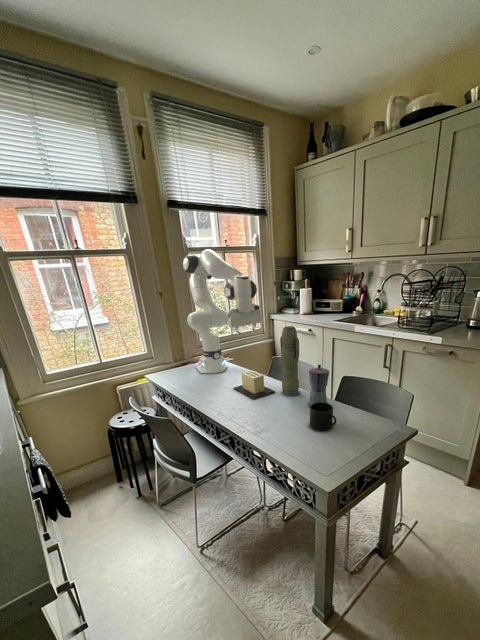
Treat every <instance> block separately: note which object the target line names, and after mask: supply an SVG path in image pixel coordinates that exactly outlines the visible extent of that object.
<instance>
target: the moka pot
mask: <svg viewBox="0 0 480 640" xmlns="http://www.w3.org/2000/svg"><path fill="white" fill-rule="evenodd" d="M329 376H330V370H329V369H327V368H323V367H322V365H321V364H317V367H313V368H311V369H309V370H308V377H309V385H310V393H309V401H308V405H309V406H311V405H312V404H314V403H320V402H322V403H328V398H327V386H328V382H329Z"/></svg>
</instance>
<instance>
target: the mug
mask: <svg viewBox="0 0 480 640" xmlns="http://www.w3.org/2000/svg"><path fill="white" fill-rule="evenodd" d="M309 406H310V405H309ZM333 421H334V422H333ZM337 422H338V421H337V417H336V416H335V415H334V406H333V405H332V404H330V403H328V402H327V403H322V402H320V403H314V404H312V405H311V406H310V407H309V427H310V428H311V429H312V430H314V431H317V432H327V431H329V430H331V429H332V428H333V426H334V425H336V424H337Z"/></svg>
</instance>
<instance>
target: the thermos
mask: <svg viewBox="0 0 480 640" xmlns="http://www.w3.org/2000/svg"><path fill="white" fill-rule="evenodd" d="M279 341H280V356H281V357H280V360H281V361H280V362H281V364H282V365H281V366H282V367H281V368H282V380H281V389H282V395H284V396H287V397H294V396H297V395H299V391H300V390H299V389H300V380H299V365H298V364H299V359H300V339H299V337H298V331H297V328H296V327H295V326H292V325H291V326H290V325H289V326H284V327H282V331H281V336H280V338H279Z"/></svg>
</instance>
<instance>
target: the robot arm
mask: <svg viewBox="0 0 480 640" xmlns="http://www.w3.org/2000/svg"><path fill="white" fill-rule="evenodd" d="M182 268H183V270H184V272H185V273H187V274H190V275H191V276H190V277H189V288H190V293H191V296H192V300H193V302H194V305H195V306H196V307H197V308H198V309H199V308H200V309H202V310H197V311H193V312H190V313H188V315H187V318H186V320H187V325H188V326H189V328H190V329H192V330H193V331H195V332H196V333H197V334H198V336H199V337H200V340H201V344H202V356H201V357H200V358H199V360H198V362H197V363H198V365H196V367H195V368H196V369H197V370H198V371H199V373H200V374H217V373H222V372H224V371H226V369H227V367H228V366H227V364H226V362H227V360H226V359H225V356H224V355H223V351H222V348H221V341H220V337H219V335H217V334H216V333H214V332H211V331H210V329H213V328H220V327H223V326H226V325H227V326H228V327H229V328H231V329H233V328H234V330H235V332H236V335H237V336H241V335H242V333H241V331H240V330H239V328H240V327H244V326H245V327H246V326H252V327H251V328H250V332H251V333H255V332H256V328H257V324H260V323H262V321H263V317H262V311H261V305H258V304H256V303H255V304H254V303H253V300H252V299H254V298H255V297H256V295H257V292H258V288H257V285H256V283H255V282H254V281H253V280H252V279H250V276H248V275H244V274H243V273H241V272H240V271H239V270H238V268H236V267H234V266H232V265H231V264H229V263H228V262H226V261H225V260H223V259H222V258H221V257H220V255H218V254H217V253H216V252H215V251H214V250H212V249H209V248H207V249H204V250H202V252H201V253H200V255H196V254H188V255H186V256H184V258H183V259H182ZM212 278H214V279H218V280H229V282H227V283H226V284H225V285H224V288H223V292H224V296H225V297H226V299H227V300H229V301H235V308H233V309H229V310H228V311H226V310H225V309H224V308H221V307H220V306H219V305H218V304H216V302H215V301H214V299H213V298H212V295H211V292H210V288H209V286H208V283H207V280H211V279H212Z"/></svg>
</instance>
